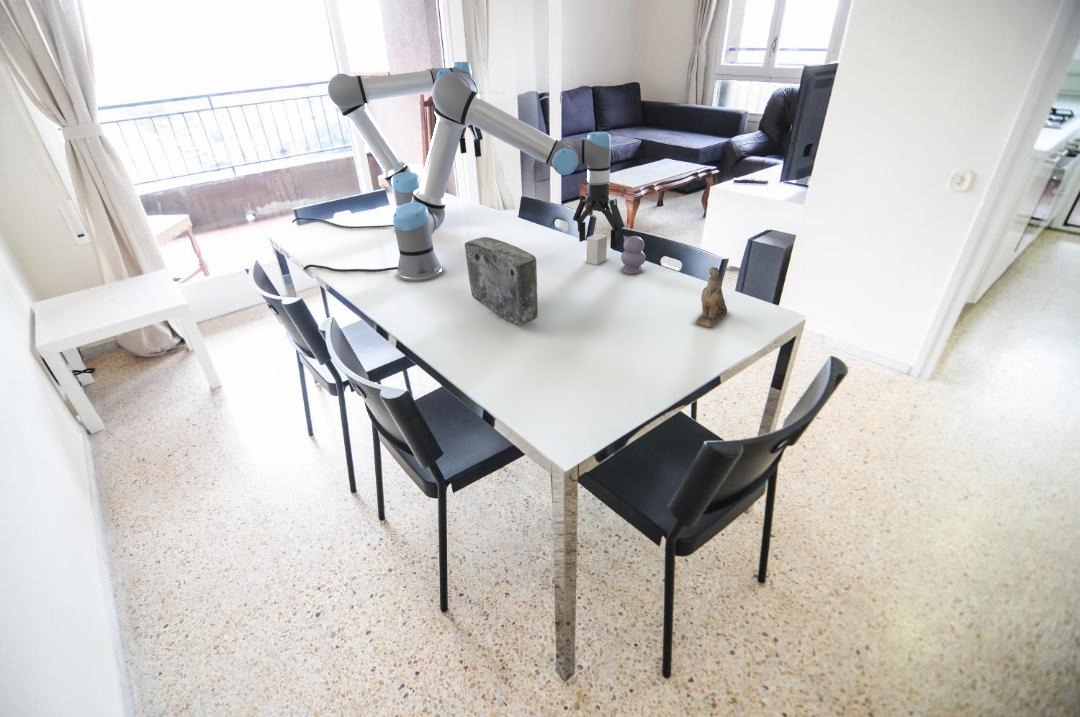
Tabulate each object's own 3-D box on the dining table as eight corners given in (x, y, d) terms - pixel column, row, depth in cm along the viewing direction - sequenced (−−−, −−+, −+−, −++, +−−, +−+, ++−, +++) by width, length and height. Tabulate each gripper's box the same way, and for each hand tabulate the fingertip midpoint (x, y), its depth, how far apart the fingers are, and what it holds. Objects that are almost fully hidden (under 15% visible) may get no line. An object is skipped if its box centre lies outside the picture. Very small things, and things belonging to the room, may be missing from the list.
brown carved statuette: (709, 335, 136) (713, 280, 124) (691, 329, 139) (693, 274, 128) (730, 313, 142) (736, 258, 130) (712, 307, 145) (716, 253, 133)
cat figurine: (649, 270, 171) (652, 236, 165) (636, 276, 167) (638, 242, 160) (628, 264, 176) (630, 231, 170) (615, 271, 172) (617, 237, 165)
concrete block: (545, 326, 139) (543, 257, 128) (519, 336, 134) (514, 266, 124) (495, 295, 157) (489, 234, 147) (470, 303, 153) (463, 240, 143)
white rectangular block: (606, 260, 182) (607, 235, 177) (596, 264, 178) (597, 240, 173) (595, 257, 184) (596, 233, 180) (586, 262, 181) (586, 237, 176)
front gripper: (636, 184, 162) (633, 247, 173) (575, 176, 176) (576, 235, 187) (623, 189, 157) (621, 253, 168) (562, 180, 171) (563, 240, 183)
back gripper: (487, 103, 209) (491, 157, 220) (459, 100, 227) (464, 150, 238) (472, 104, 206) (477, 159, 217) (444, 102, 223) (450, 152, 234)
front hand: (597, 244), depth 178 cm, fingers open, 13 cm apart
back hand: (470, 154), depth 227 cm, fingers open, 13 cm apart
